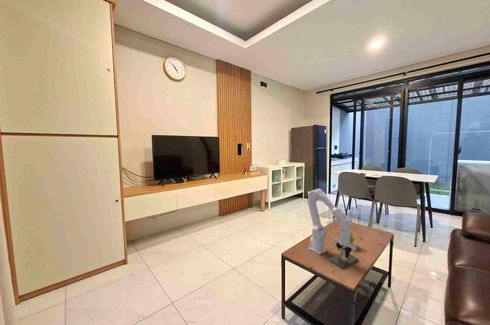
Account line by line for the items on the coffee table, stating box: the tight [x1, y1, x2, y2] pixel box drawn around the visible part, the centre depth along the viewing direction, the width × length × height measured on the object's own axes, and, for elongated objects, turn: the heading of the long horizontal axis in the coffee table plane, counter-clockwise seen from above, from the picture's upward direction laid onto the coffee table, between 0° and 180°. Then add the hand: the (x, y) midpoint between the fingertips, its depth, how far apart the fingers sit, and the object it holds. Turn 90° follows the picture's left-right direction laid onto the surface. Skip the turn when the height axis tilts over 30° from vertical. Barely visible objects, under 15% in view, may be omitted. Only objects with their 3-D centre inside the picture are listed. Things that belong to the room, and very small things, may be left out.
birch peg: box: [338, 246, 348, 262], centre depth 134 cm, size 4×4×8 cm
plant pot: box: [344, 232, 356, 248], centre depth 153 cm, size 9×9×9 cm
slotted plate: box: [328, 253, 359, 270], centre depth 134 cm, size 10×17×2 cm, turn 121°
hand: (343, 255), depth 134 cm, fingers closed on birch peg, 4 cm apart
